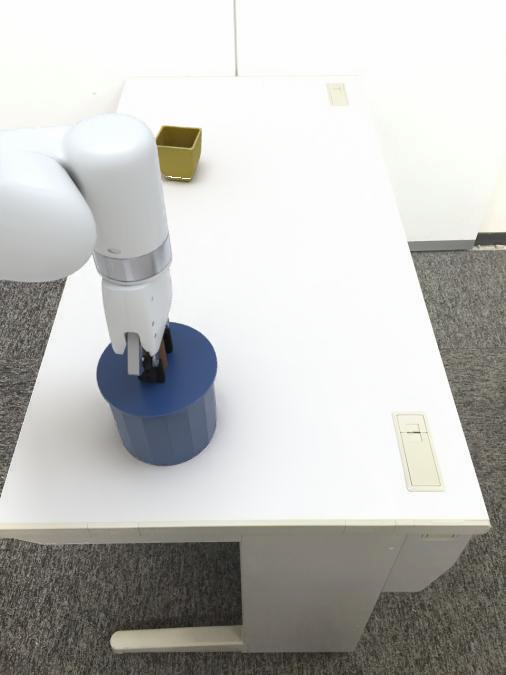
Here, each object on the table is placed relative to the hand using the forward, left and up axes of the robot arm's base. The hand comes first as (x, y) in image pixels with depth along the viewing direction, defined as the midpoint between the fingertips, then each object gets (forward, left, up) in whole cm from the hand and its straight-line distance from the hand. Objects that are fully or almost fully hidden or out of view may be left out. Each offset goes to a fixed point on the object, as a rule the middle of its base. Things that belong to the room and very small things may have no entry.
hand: (156, 363), depth 65 cm
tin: (0, 0, -13) cm, 13 cm away
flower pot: (+23, +59, -14) cm, 65 cm away
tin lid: (0, 0, -1) cm, 1 cm away
